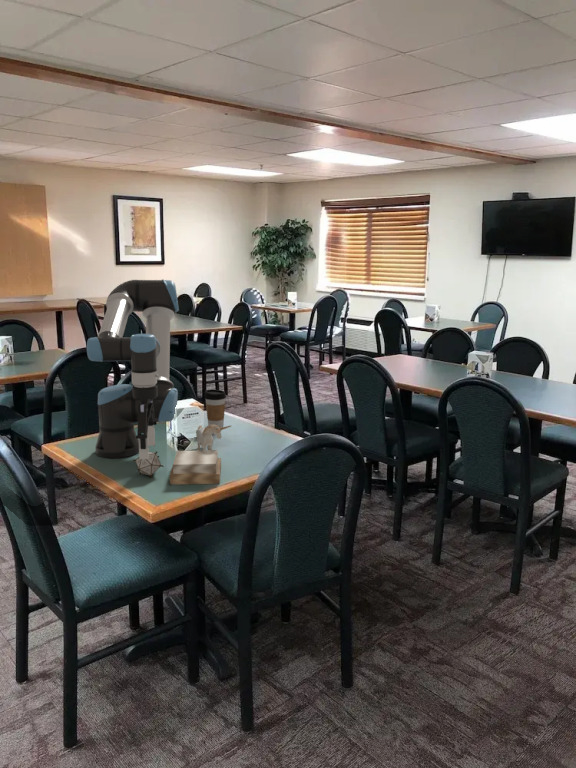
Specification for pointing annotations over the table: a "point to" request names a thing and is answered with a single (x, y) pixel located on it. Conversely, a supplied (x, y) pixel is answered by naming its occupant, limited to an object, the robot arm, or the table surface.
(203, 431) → the unicorn figurine
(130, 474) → the table surface
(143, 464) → the game die
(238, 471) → the table surface
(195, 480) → the tower base
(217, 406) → the coffee cup
